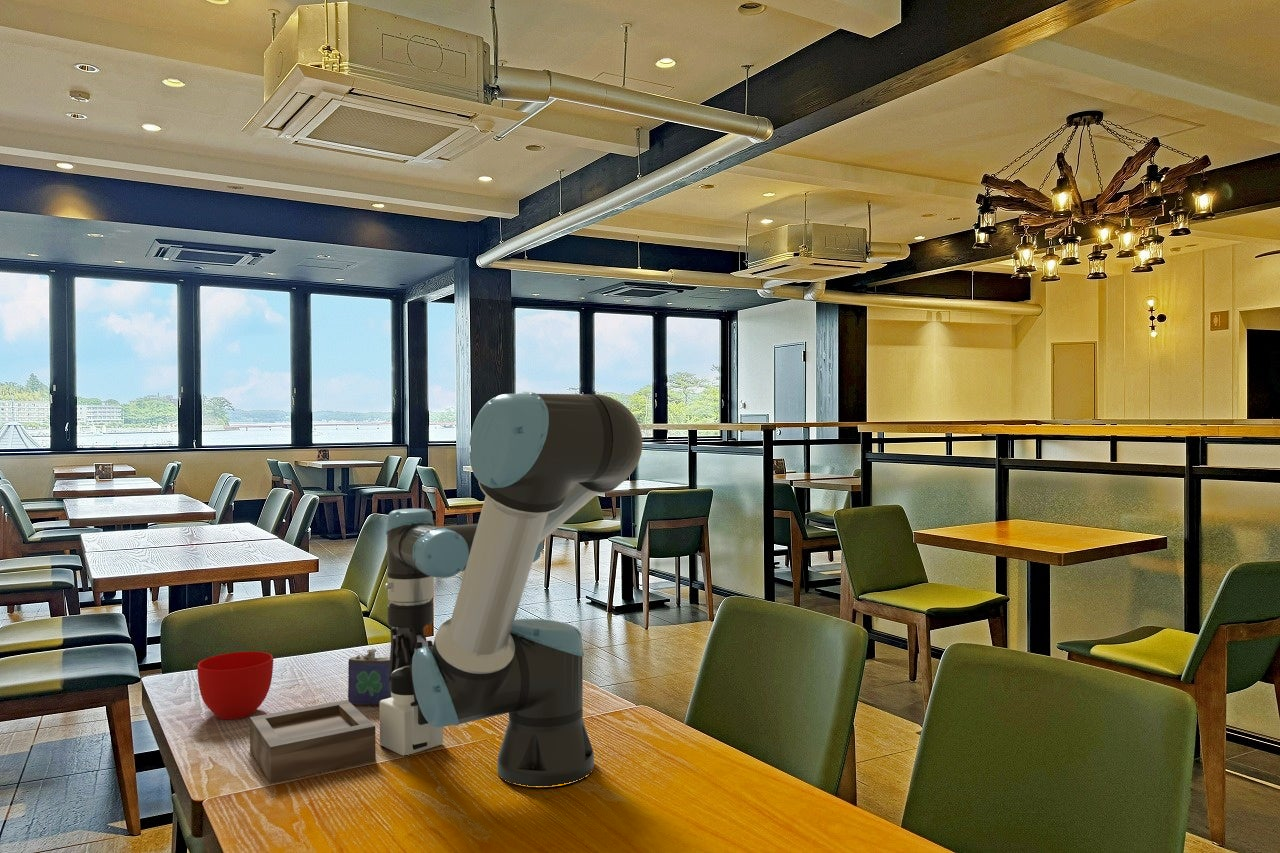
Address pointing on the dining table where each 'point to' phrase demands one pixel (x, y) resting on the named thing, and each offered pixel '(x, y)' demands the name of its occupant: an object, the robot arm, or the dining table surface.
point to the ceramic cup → (235, 682)
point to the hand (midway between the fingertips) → (411, 733)
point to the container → (402, 717)
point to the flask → (368, 679)
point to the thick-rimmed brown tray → (311, 740)
